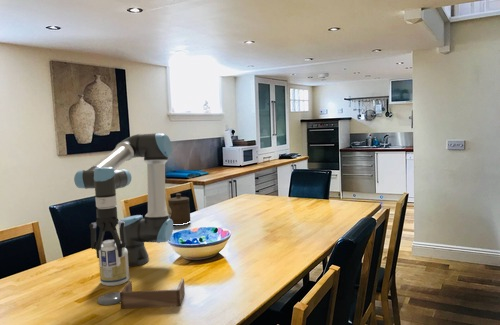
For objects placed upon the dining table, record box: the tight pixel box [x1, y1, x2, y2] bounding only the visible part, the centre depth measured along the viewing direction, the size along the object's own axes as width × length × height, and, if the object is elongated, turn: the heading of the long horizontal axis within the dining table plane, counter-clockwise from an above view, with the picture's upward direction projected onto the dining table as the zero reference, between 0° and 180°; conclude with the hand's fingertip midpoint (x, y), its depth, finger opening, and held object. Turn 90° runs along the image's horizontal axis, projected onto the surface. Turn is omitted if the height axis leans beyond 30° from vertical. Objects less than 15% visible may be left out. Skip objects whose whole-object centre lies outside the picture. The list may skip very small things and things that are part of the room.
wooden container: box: [167, 192, 191, 224], centre depth 281 cm, size 15×15×22 cm
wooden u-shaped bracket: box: [119, 278, 186, 310], centre depth 153 cm, size 12×22×6 cm, turn 91°
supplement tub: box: [98, 243, 130, 287], centre depth 174 cm, size 12×12×17 cm
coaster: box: [97, 291, 121, 306], centre depth 156 cm, size 11×11×1 cm
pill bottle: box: [102, 239, 117, 268], centre depth 155 cm, size 6×6×10 cm
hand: (110, 265), depth 155 cm, fingers closed on pill bottle, 6 cm apart
